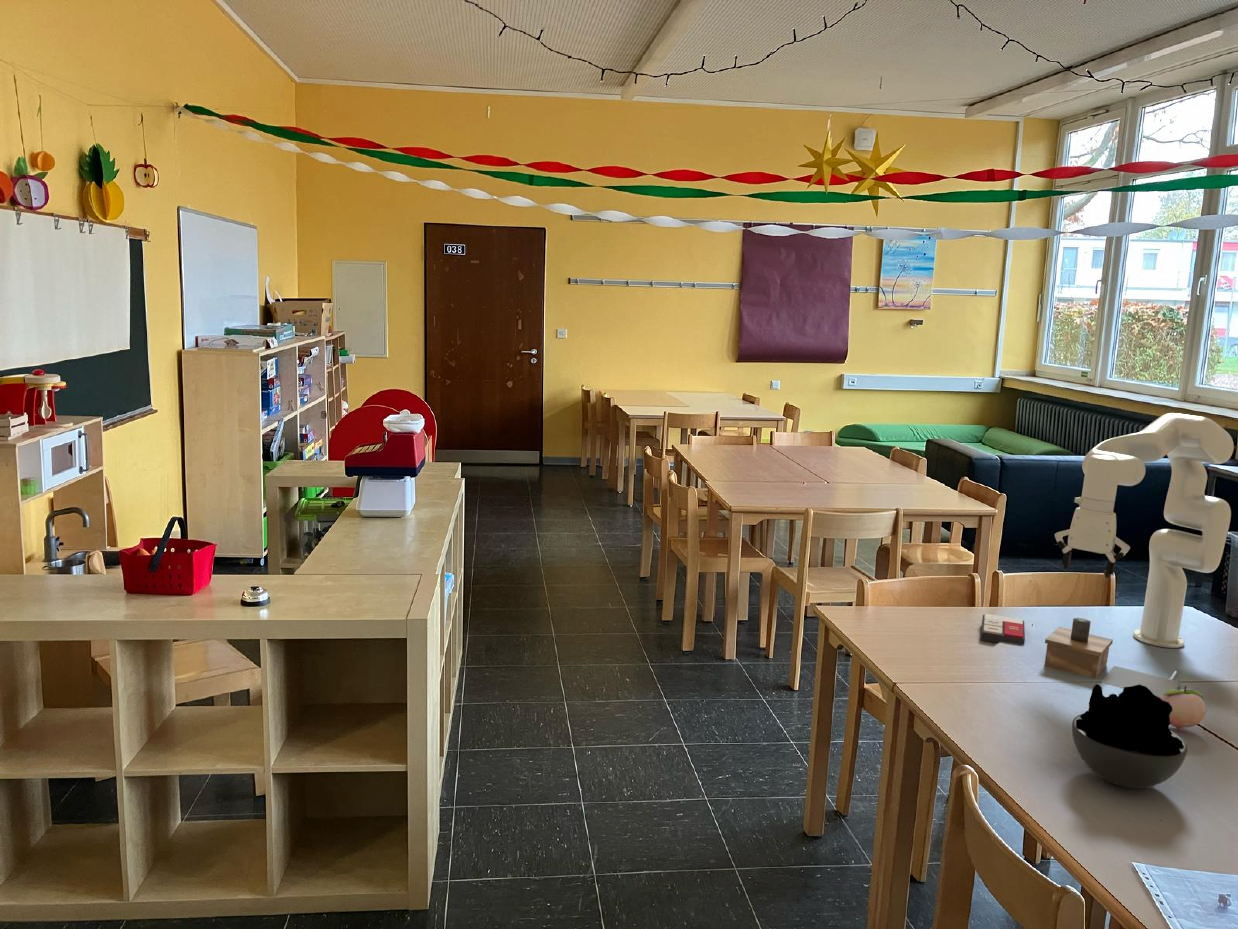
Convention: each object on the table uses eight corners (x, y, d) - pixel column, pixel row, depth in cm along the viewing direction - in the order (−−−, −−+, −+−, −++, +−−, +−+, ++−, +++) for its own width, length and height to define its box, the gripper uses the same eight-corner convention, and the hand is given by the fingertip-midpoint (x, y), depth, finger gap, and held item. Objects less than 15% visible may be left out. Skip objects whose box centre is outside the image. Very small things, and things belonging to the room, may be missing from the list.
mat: (1113, 669, 255) (1114, 665, 255) (1179, 686, 246) (1180, 682, 246) (1100, 686, 243) (1100, 682, 243) (1168, 704, 234) (1169, 700, 234)
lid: (1057, 634, 261) (1061, 608, 260) (1111, 647, 254) (1115, 620, 252) (1044, 646, 251) (1047, 620, 250) (1099, 660, 243) (1103, 633, 242)
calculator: (981, 629, 270) (983, 611, 284) (979, 644, 271) (981, 625, 285) (1025, 636, 266) (1024, 617, 280) (1023, 651, 267) (1022, 632, 281)
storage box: (1056, 657, 262) (1059, 631, 260) (1105, 669, 255) (1109, 643, 253) (1043, 669, 252) (1047, 643, 251) (1094, 682, 245) (1098, 655, 244)
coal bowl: (1191, 783, 195) (1206, 692, 192) (1164, 820, 180) (1180, 722, 177) (1084, 748, 208) (1096, 662, 205) (1051, 780, 193) (1063, 688, 190)
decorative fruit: (1177, 739, 215) (1184, 695, 213) (1148, 723, 223) (1155, 680, 221) (1212, 736, 218) (1219, 693, 216) (1182, 720, 225) (1189, 678, 224)
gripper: (1056, 501, 249) (1046, 567, 252) (1132, 513, 239) (1121, 583, 241) (1064, 497, 255) (1054, 562, 258) (1138, 509, 245) (1127, 577, 247)
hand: (1086, 572), depth 250 cm, fingers open, 9 cm apart
